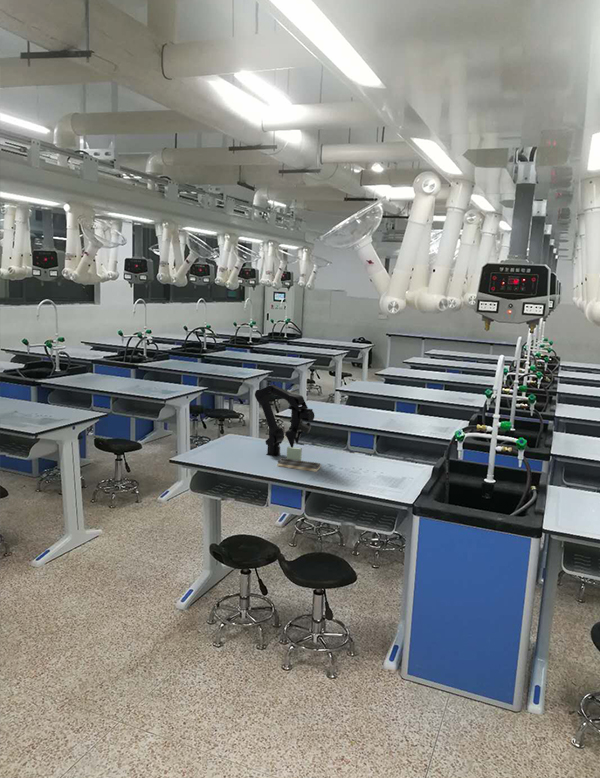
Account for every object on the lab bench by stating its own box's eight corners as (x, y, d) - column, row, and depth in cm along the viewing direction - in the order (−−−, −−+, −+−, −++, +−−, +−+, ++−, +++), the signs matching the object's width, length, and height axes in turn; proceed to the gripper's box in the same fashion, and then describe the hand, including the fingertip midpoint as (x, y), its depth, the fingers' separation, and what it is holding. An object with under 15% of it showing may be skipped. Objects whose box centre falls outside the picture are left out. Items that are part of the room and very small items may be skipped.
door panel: (286, 459, 324) (287, 447, 322) (287, 458, 326) (288, 446, 324) (300, 461, 321) (300, 449, 320) (301, 460, 324) (301, 448, 322)
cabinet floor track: (277, 465, 311) (277, 461, 311) (282, 461, 320) (282, 457, 319) (316, 471, 305) (316, 467, 305) (320, 467, 314) (320, 462, 313)
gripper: (305, 423, 308) (303, 451, 311) (314, 416, 326) (312, 443, 329) (285, 421, 311) (284, 448, 314) (295, 414, 329) (294, 440, 332)
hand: (294, 445), depth 322 cm, fingers open, 9 cm apart
